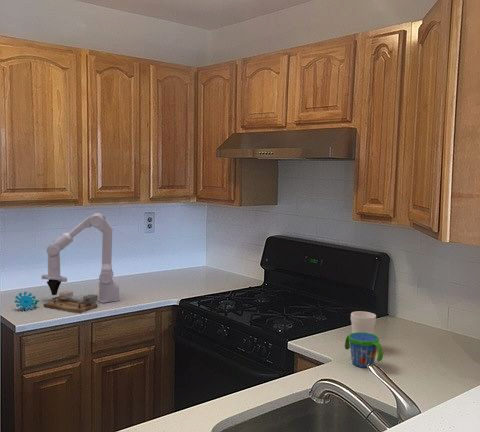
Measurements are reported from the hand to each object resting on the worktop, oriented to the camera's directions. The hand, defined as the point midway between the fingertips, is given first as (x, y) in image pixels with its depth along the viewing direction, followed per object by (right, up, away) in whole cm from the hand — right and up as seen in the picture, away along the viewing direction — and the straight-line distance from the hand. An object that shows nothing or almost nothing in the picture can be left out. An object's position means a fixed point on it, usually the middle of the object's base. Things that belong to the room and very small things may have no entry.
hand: (54, 294), depth 265 cm
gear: (-8, -5, -13) cm, 16 cm away
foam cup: (+139, -12, -56) cm, 150 cm away
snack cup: (+135, -14, -74) cm, 155 cm away
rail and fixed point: (+11, -3, -8) cm, 14 cm away
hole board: (+11, -5, -9) cm, 15 cm away
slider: (+5, -2, -6) cm, 8 cm away
